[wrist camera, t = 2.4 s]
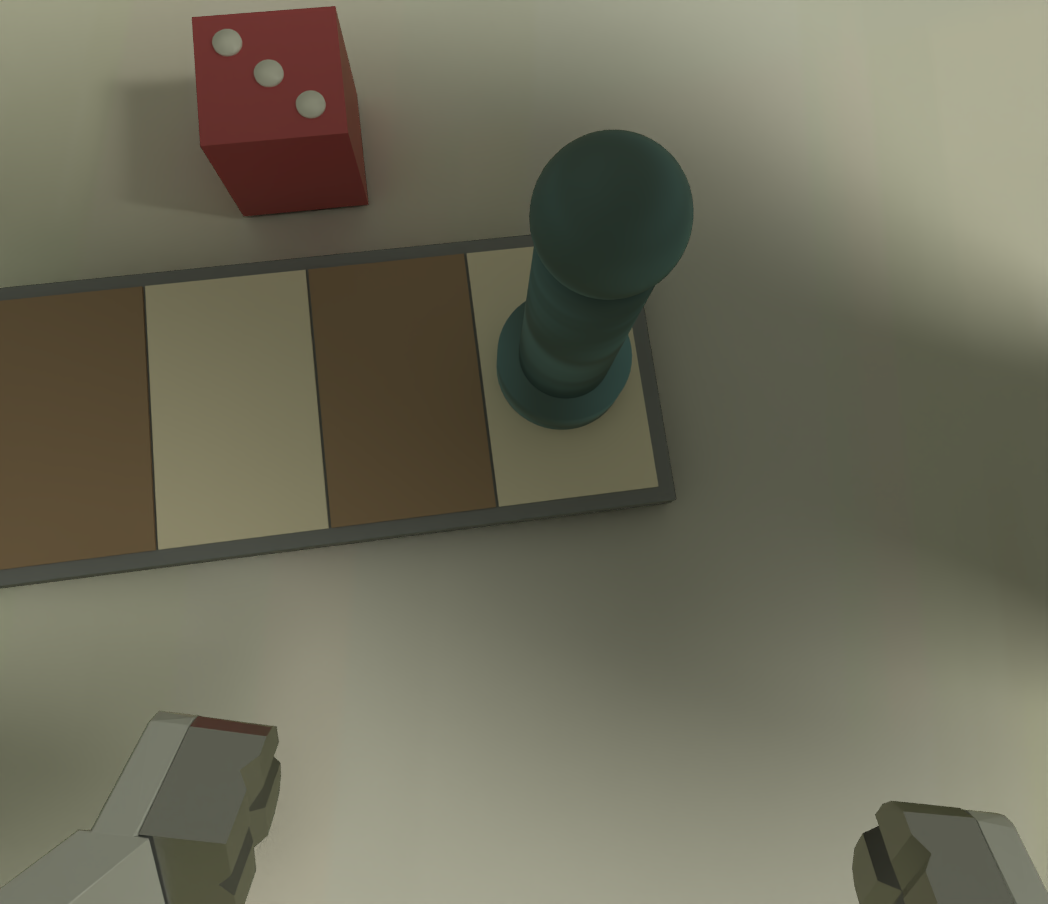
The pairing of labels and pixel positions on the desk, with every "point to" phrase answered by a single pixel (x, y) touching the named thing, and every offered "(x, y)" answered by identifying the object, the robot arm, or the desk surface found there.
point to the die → (279, 110)
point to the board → (289, 413)
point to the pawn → (591, 274)
